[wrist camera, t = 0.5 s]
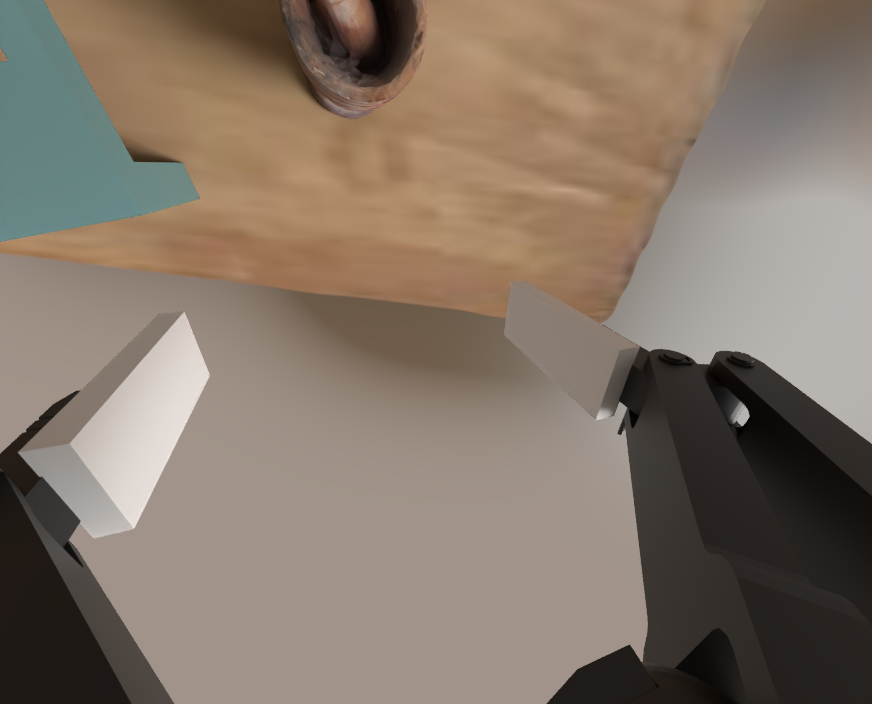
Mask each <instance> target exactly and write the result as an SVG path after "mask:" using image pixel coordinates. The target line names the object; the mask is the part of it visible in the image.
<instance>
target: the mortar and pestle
mask: <svg viewBox="0 0 872 704" xmlns="http://www.w3.org/2000/svg"><path fill="white" fill-rule="evenodd" d="M279 4H280V9H281V14H282V19H283V22H284V25H285V28H286V31H287V34H288V36H289V39H290V42H291V45H292V47H293V50H294V53H295V55H296V57H297V60H298V62H299V64H300V66H301V68H302V70H303V71H304V73H305V76H306V79H307V82H308V85H309V87H310V89H311V91H312V93H313V95H314V96H315V98H316V99H317V100H318V101H319V102H320V103H321V104H322V105H323V106H324V107H325V108H326V109H328V110H329V111H331V112H333V113H335V114H337V115H340V116H342V117H345V118H349V119H355V118H359V117H362V116H365V115H368V114H370V113H371V112H372V111H373V110H374V109H376V108H378V107H380V106H382V105H384V104H386V103H387V102H389V101H390V100H392V99H393V98H394V97H395V96H396V95H397V94H399V93H400V92H401V91H402V90H403V89H404V88H405V87H406V86H407V85H408V84H409V83H410V81H411V80H412V78H413V76H414V74H415V73H416V71H417V70H418V68H419V65H420V62H421V59H422V55H423V52H424V49H425V42H426V33H427V18H428V10H427V4H426V0H279Z"/></svg>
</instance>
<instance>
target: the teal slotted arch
mask: <svg viewBox="0 0 872 704" xmlns="http://www.w3.org/2000/svg"><path fill="white" fill-rule="evenodd" d="M0 47H1V49H2V51H3V52H4V54H5V55H6V57H7V58H8V60H9V61H4V62H0V242H2V241H7V240H12V239H18V238H23V237H28V236H34V235H39V234H44V233H50V232H55V231H60V230H66V229H71V228H76V227H82V226H87V225H92V224H98V223H103V222H108V221H114V220H119V219H124V218H129V217H135V216H140V215H144V214H148V213H151V212H155V211H158V210H162V209H165V208H169V207H172V206H176V205H179V204H183V203H186V202H190V201H193V200H197V199H200V198H199V196H198V194H197V191H196V189H195V187H194V185H193V183H192V181H191V179H190V177H189V175H188V173H187V171H186V169H185V167H184V165H183V163H169V162H133V160H132V158H131V156H130V154H129V153H128V151H127V149H126V147H125V145H124V144H123V142H122V140H121V138H120V137H119V135H118V133H117V131H116V129H115V128H114V126H113V124H112V122H111V120H110V119H109V117H108V115H107V113H106V111H105V110H104V108H103V106H102V104H101V103H100V101H99V99H98V97H97V95H96V94H95V92H94V90H93V88H92V86H91V85H90V83H89V81H88V79H87V77H86V76H85V74H84V72H83V70H82V68H81V67H80V65H79V63H78V61H77V60H76V58H75V56H74V54H73V52H72V51H71V49H70V47H69V45H68V43H67V42H66V40H65V38H64V36H63V34H62V33H61V31H60V29H59V27H58V26H57V24H56V22H55V20H54V18H53V17H52V15H51V13H50V11H49V9H48V8H47V6H46V4H45V2H44V0H0Z"/></svg>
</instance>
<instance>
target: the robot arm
mask: <svg viewBox="0 0 872 704" xmlns="http://www.w3.org/2000/svg"><path fill="white" fill-rule="evenodd" d="M504 335H505V336H506V337H507V338H508V339H509V340H510V341H511V342H512V343H513V344H515V345H516V346H517V347H518V348H519V349H520V350H521V351H522V352H523V353H524V354H525V355H526V356H527V357H529V358H530V359H531V360H532V361H533V362H534V363H535V364H536V365H537V366H538V367H539V368H540V369H541V370H542V371H544V372H545V373H546V374H547V375H548V376H549V377H550V378H551V379H552V380H553V381H554V382H556V384H557V385H559V386H560V387H561V388H562V389H563V390H564V391H565V392H566V393H567V394H568V395H570V397H572V399H574V400H575V401H576V402H577V403H578V404H579V405H580V406H581V407H582V408H583V409H584V410H585V411H586V412H588V413H589V414H590V415H591V416H592V417H593V418H594V419H595V420H599V419H603V418H607V417H611V416H614V414H615V412H616V409H617V406H618V403H619V401H620V402H621V403H622V404H624V405H625V406H626V407H627V410H626V413H625V415H624V418H623V420H622V423H621V425H620V428H619V430H618V434H619V435H621V434H622V431H624V430H626V437H627V446H628V455H629V463H630V471H631V480H632V488H633V497H634V505H635V514H636V523H637V531H638V539H639V547H640V556H641V565H642V573H643V582H644V590H645V599H646V608H647V616H648V632H647V637H646V642H645V647H644V655H643V662H641V661H640V659H639V658H638V656H637V655H636V653H635V652H634V650H633V649H632V647H631V646H630V645H628V646H625V647H624V648H621V649H619V650H617V651H615V652H613V653H611V654H609V655H606V656H605V657H602V658H600V659H598V660H596V661H594V662H592V663H590V664H588V665H585V666H583V667H581V668H579V669H577V670H576V672H575V673H574V674H573V675H572V676H571V677H570V678H569V679H568V680H567V682H566V683H565V684H564V685H563V686H562V687H561V688H560V689H559V690H558V692H557V693H556V694H555V695H554V696H553V697H552V698H551V699H550V701H549V702H548V703H547V704H872V444H871V443H870V442H868V441H867V440H866V439H864V438H863V437H862V436H860V435H859V434H857V433H856V432H855V431H854V430H852V429H851V428H850V427H848V426H847V425H846V424H844V423H843V422H841V421H840V420H839V419H838V418H836V417H835V416H833V415H832V414H831V413H829V412H828V411H827V410H826V409H824V408H823V407H821V406H820V405H819V404H817V403H816V402H815V401H813V400H812V399H811V398H809V397H808V396H807V395H806V394H804V393H803V392H802V391H800V390H799V389H798V388H796V387H795V386H793V385H792V384H791V383H790V382H788V381H787V380H785V379H784V378H783V377H781V376H780V375H779V374H777V373H776V372H775V371H773V370H772V369H771V368H769V367H768V366H767V365H765V364H764V363H762V362H761V361H759V360H757V359H755V358H753V357H751V356H750V355H748V354H745V353H741V352H730V351H719V352H716V353H715V355H714V357H713V359H712V361H711V363H710V365H708V364H697V363H696V362H695V361H694V360H693V359H691V358H690V357H688V356H686V355H684V354H681V353H679V352H675V351H671V350H664V349H656V350H652V351H650V352H649V351H647V350H646V349H644V348H642V347H640V346H639V345H637V344H635V343H633V342H632V341H630V340H628V339H626V338H625V337H622V336H621V335H619V334H618V333H616V332H614V331H612V330H611V329H609V328H607V327H606V326H604V325H602V324H600V323H598V322H596V321H595V320H593V319H591V318H590V317H588V316H586V315H584V314H583V313H581V312H579V311H577V310H576V309H574V308H572V307H571V306H569V305H567V304H565V303H564V302H562V301H560V300H558V299H557V298H555V297H553V296H551V295H550V294H548V293H546V292H545V291H543V290H541V289H539V288H538V287H536V286H534V285H532V284H531V283H529V282H527V281H515V282H511V286H510V294H509V301H508V309H507V316H506V324H505V331H504ZM209 376H210V375H209V372H208V370H207V367H206V365H205V362H204V360H203V357H202V355H201V352H200V350H199V347H198V345H197V342H196V340H195V337H194V335H193V332H192V330H191V327H190V325H189V322H188V320H187V317H186V315H185V312H175V313H163V314H158V315H157V316H156V317H155V318H154V319H153V320H152V321H151V322H150V323H149V324H148V325H147V326H146V327H145V328H144V329H143V330H142V331H141V332H140V333H139V334H138V335H137V336H136V337H135V338H134V339H133V340H132V341H131V342H130V343H129V344H128V345H127V346H126V347H125V348H124V349H123V350H122V351H121V352H120V353H119V354H118V355H117V356H116V357H115V358H114V359H113V360H112V361H111V362H110V363H108V364H107V366H105V367H104V369H102V370H101V372H99V373H98V374H97V375H96V376H95V377H94V378H93V379H92V380H91V381H90V382H89V383H88V384H87V385H86V386H85V387H84V388H83V389H82V390H81V391H75V392H73V393H72V394H70V395H68V396H67V397H65V398H63V399H62V400H60V401H58V402H56V403H55V404H53V405H52V406H51V407H50V408H49V409H48V410H47V411H46V412H45V413H44V414H42V415H41V416H40V417H39V420H38V421H35V422H34V423H33V424H32V425H31V426H30V427H29V428H27V429H26V432H25V433H22V434H21V435H20V436H19V437H18V438H17V439H16V440H15V441H13V442H12V443H11V444H10V445H9V446H8V447H7V448H6V449H5V450H4V451H3V452H2V453H1V454H0V704H174V703H173V701H172V700H171V698H170V696H169V695H168V693H167V692H166V690H165V688H164V687H163V685H162V684H161V682H160V680H159V679H158V677H157V676H156V674H155V672H154V671H153V669H152V668H151V666H150V664H149V663H148V661H147V660H146V658H145V657H144V655H143V653H142V652H141V650H140V649H139V647H138V646H137V644H136V642H135V641H134V639H133V637H132V636H131V634H130V633H129V631H128V629H127V628H126V626H125V625H124V623H123V622H122V620H121V618H120V617H119V615H118V614H117V612H116V610H115V609H114V607H113V606H112V604H111V602H110V601H109V599H108V598H107V596H106V595H105V593H104V592H103V590H102V588H101V587H100V585H99V583H98V582H97V580H96V579H95V577H94V575H93V574H92V572H91V571H90V569H89V568H88V566H87V564H86V563H85V561H84V560H83V558H82V556H81V555H80V553H79V552H78V550H77V548H75V546H74V545H73V544H72V543H71V542H70V541H69V538H70V537H71V535H72V534H73V532H74V531H75V529H76V528H77V526H78V524H79V523H80V524H81V525H82V526H83V527H84V528H85V529H86V531H87V532H88V533H89V534H90V535H91V536H92V537H93V538H98V537H102V536H106V535H110V534H115V533H119V532H123V531H127V530H132V529H134V528H135V526H136V523H137V522H138V520H139V518H140V516H141V513H142V511H143V509H144V507H145V505H146V503H147V501H148V499H149V497H150V495H151V493H152V491H153V489H154V487H155V485H156V483H157V481H158V479H159V477H160V475H161V473H162V471H163V469H164V467H165V465H166V463H167V461H168V459H169V457H170V455H171V453H172V451H173V449H174V447H175V445H176V443H177V441H178V438H179V436H180V435H181V432H182V431H183V429H184V426H185V424H186V422H187V420H188V418H189V416H190V414H191V412H192V410H193V408H194V406H195V404H196V402H197V400H198V398H199V396H200V394H201V392H202V390H203V388H204V386H205V384H206V381H207V380H208V378H209ZM745 406H746V408H747V409H748V411H749V415H750V417H749V419H748V420H747V422H746V423H745V424H744V426H741V425H740V424H739V423H738V422H737V421H736V420H737V418H738V417H739V415H740V414H741V412H742V410H743V409H744V407H745Z"/></svg>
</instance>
